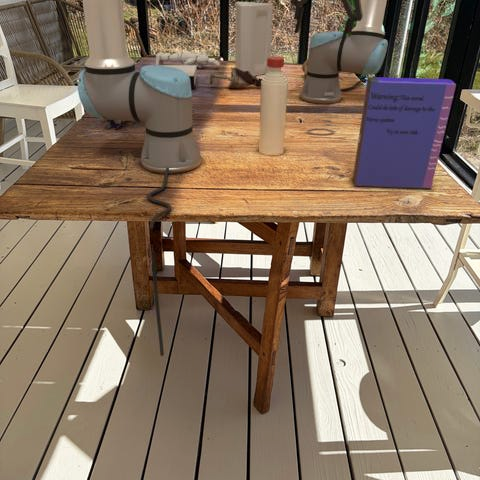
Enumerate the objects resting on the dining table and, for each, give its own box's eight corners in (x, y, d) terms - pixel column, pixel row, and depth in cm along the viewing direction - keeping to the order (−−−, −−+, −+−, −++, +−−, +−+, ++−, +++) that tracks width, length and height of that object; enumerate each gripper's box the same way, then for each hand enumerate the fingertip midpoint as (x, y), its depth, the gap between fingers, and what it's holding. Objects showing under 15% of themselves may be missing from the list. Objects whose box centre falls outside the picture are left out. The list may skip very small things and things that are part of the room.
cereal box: (425, 180, 115) (449, 78, 103) (430, 188, 111) (456, 83, 99) (352, 177, 116) (367, 76, 104) (355, 186, 112) (371, 81, 100)
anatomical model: (311, 83, 216) (311, 84, 202) (297, 70, 215) (296, 69, 201) (331, 61, 212) (332, 60, 198) (317, 47, 211) (317, 45, 197)
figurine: (210, 87, 179) (288, 95, 182) (212, 65, 176) (291, 73, 180) (208, 84, 201) (278, 91, 205) (210, 64, 198) (280, 71, 202)
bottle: (287, 149, 133) (293, 58, 121) (277, 157, 128) (282, 63, 115) (265, 144, 136) (269, 56, 123) (254, 152, 131) (257, 60, 118)
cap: (286, 65, 121) (286, 57, 120) (279, 68, 118) (279, 60, 117) (271, 63, 123) (271, 55, 122) (264, 66, 119) (264, 58, 118)
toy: (175, 75, 210) (174, 58, 206) (151, 64, 228) (150, 49, 224) (222, 69, 222) (222, 53, 218) (195, 59, 239) (195, 45, 236)
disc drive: (149, 89, 188) (148, 76, 186) (157, 76, 207) (156, 64, 205) (194, 89, 189) (193, 76, 186) (197, 76, 208) (197, 64, 205)
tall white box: (273, 76, 210) (276, 6, 196) (239, 77, 209) (240, 6, 194) (266, 67, 226) (268, 2, 212) (235, 67, 225) (235, 1, 210)
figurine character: (122, 135, 144) (137, 116, 156) (118, 111, 140) (134, 93, 152) (101, 134, 145) (117, 115, 157) (96, 110, 140) (113, 92, 152)
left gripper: (214, -78, 140) (215, 3, 151) (133, -78, 144) (140, 0, 155) (207, -79, 134) (209, 5, 145) (123, -80, 138) (131, 2, 149)
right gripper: (289, -55, 122) (274, 30, 136) (385, -32, 118) (359, 53, 132) (297, -59, 127) (281, 23, 141) (389, -38, 123) (363, 44, 137)
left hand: (173, 3), depth 150 cm, fingers open, 13 cm apart
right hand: (319, 37), depth 137 cm, fingers open, 13 cm apart
